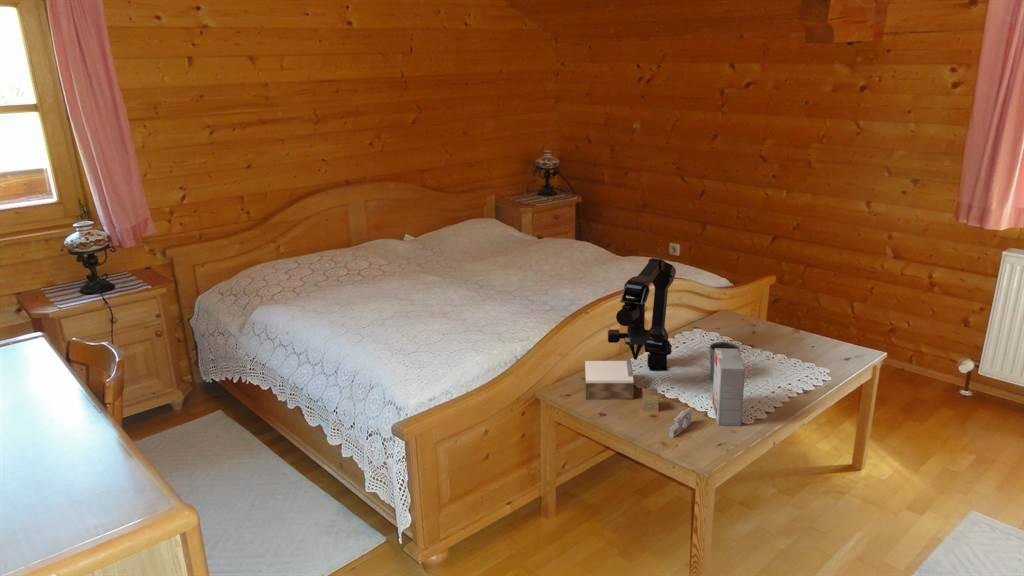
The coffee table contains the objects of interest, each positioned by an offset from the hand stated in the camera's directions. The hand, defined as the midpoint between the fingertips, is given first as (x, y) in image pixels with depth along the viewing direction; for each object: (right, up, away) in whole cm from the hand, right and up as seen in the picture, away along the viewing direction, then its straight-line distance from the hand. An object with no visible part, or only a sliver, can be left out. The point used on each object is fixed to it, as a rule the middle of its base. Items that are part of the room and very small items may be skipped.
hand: (635, 359), depth 243 cm
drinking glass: (+33, -8, +11) cm, 36 cm away
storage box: (-8, -11, +7) cm, 15 cm away
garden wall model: (+10, -20, -22) cm, 31 cm away
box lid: (-9, -5, +5) cm, 11 cm away
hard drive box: (+27, -17, -14) cm, 35 cm away
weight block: (+4, -15, -8) cm, 18 cm away
